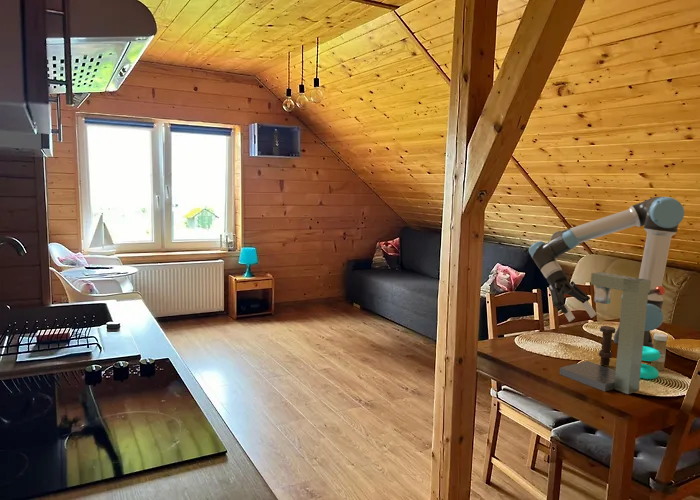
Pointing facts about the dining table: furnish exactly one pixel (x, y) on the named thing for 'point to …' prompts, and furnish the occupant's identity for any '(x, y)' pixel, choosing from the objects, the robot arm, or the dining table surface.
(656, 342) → the sprinkles bottle
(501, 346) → the dining table surface
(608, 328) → the bolt
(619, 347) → the press
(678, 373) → the dining table surface
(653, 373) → the donuts
